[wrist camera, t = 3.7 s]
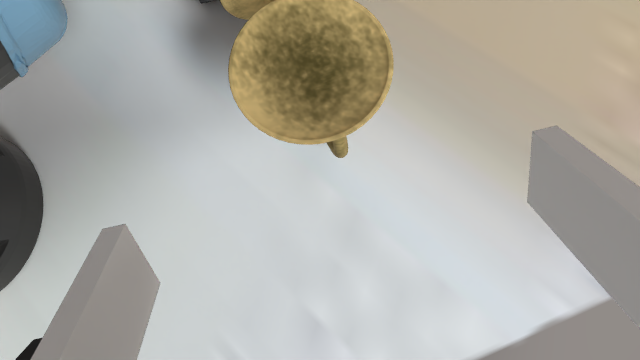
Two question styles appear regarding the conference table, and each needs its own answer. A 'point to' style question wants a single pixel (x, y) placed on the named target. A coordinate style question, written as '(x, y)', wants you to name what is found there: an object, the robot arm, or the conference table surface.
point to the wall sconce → (309, 68)
